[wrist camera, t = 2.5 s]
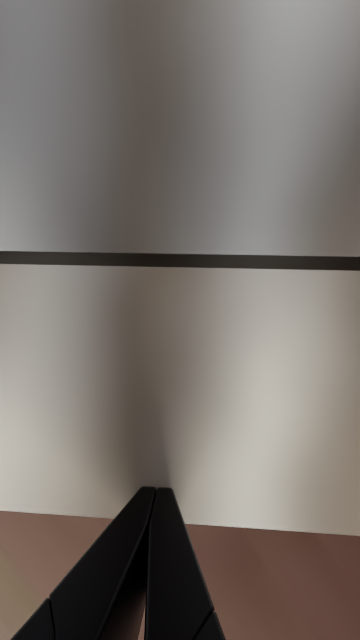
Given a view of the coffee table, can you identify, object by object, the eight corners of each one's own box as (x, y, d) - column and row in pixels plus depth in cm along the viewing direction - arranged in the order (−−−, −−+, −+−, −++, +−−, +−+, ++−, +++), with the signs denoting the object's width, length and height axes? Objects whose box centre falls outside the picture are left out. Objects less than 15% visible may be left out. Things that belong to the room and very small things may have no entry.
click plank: (439, 287, 10) (490, 273, 8) (452, 510, 9) (511, 546, 8) (-72, 276, 11) (-123, 261, 10) (-98, 474, 11) (-158, 499, 9)
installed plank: (501, -5, 8) (580, -72, 7) (441, 272, 10) (491, 277, 8) (-117, 16, 9) (-189, -37, 8) (-74, 262, 11) (-124, 265, 9)
